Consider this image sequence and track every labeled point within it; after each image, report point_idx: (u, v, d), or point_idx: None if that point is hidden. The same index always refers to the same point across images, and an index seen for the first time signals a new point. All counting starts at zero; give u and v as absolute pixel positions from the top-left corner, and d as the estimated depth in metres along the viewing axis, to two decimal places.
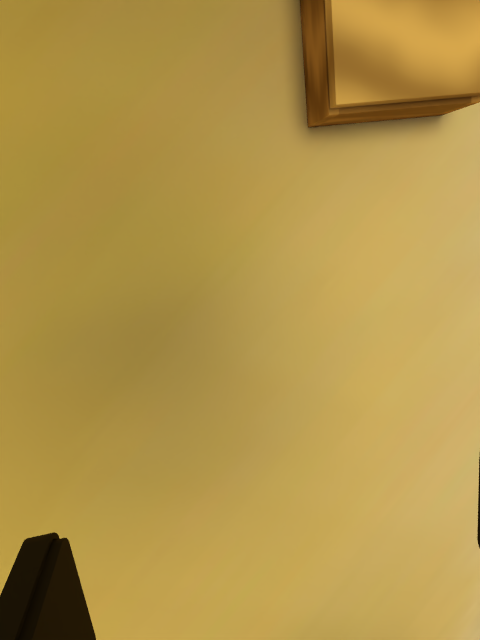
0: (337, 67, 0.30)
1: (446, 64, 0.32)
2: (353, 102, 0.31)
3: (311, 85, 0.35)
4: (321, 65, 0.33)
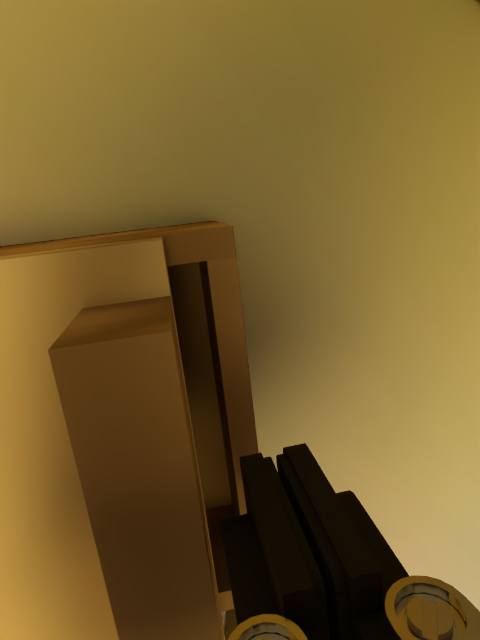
0: None
1: None
2: None
3: None
4: None
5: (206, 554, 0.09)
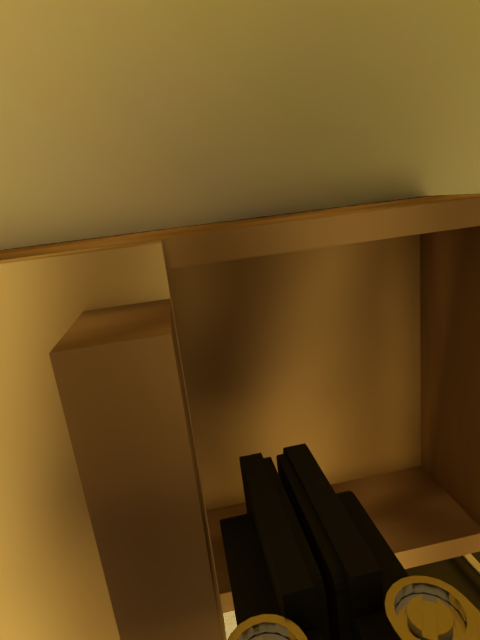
0: None
1: None
2: None
3: (37, 247, 0.14)
4: (37, 252, 0.12)
5: (207, 555, 0.09)
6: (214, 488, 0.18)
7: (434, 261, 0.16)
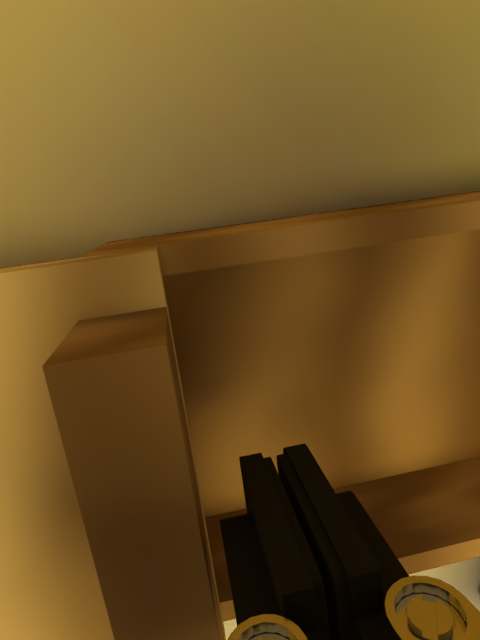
0: None
1: None
2: None
3: (190, 233, 0.15)
4: (220, 234, 0.12)
5: (205, 567, 0.08)
6: (331, 469, 0.19)
7: None
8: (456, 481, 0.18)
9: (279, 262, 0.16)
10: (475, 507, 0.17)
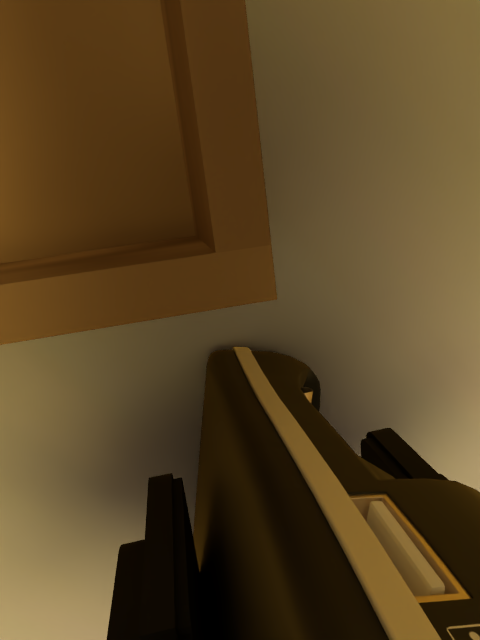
0: None
1: None
2: None
3: None
4: None
5: None
6: None
7: None
8: None
9: None
10: None
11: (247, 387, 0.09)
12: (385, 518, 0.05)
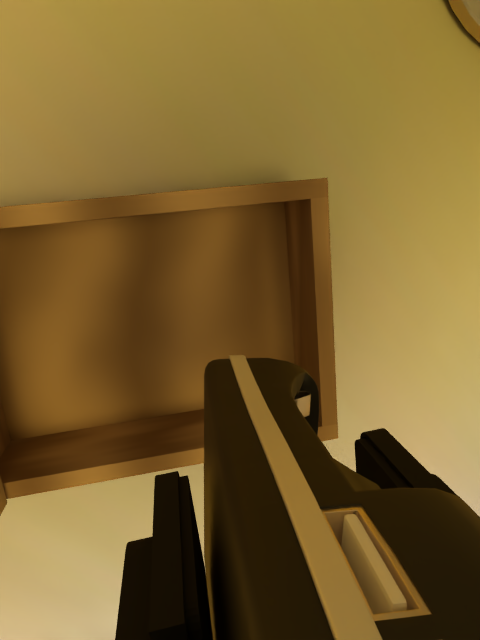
0: None
1: None
2: None
3: None
4: None
5: None
6: (133, 403, 0.24)
7: (291, 231, 0.22)
8: None
9: (76, 237, 0.21)
10: None
11: (239, 398, 0.09)
12: (357, 532, 0.05)
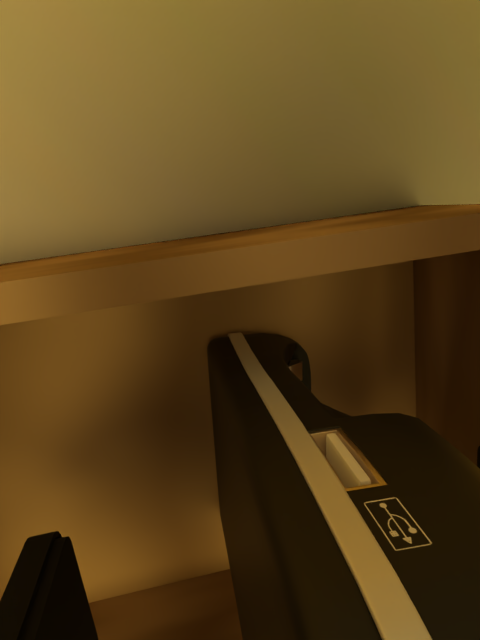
0: None
1: None
2: None
3: None
4: None
5: None
6: (170, 559, 0.15)
7: (430, 286, 0.13)
8: None
9: None
10: None
11: (239, 365, 0.11)
12: (336, 444, 0.07)
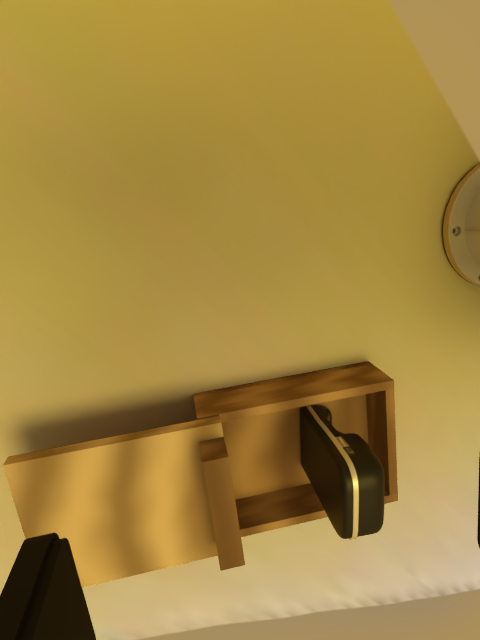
0: (36, 461, 0.33)
1: None
2: (8, 480, 0.33)
3: (225, 394, 0.40)
4: (237, 405, 0.37)
5: None
6: (282, 480, 0.44)
7: None
8: None
9: None
10: None
11: (313, 418, 0.39)
12: (340, 439, 0.36)
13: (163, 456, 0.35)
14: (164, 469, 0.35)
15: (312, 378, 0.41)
